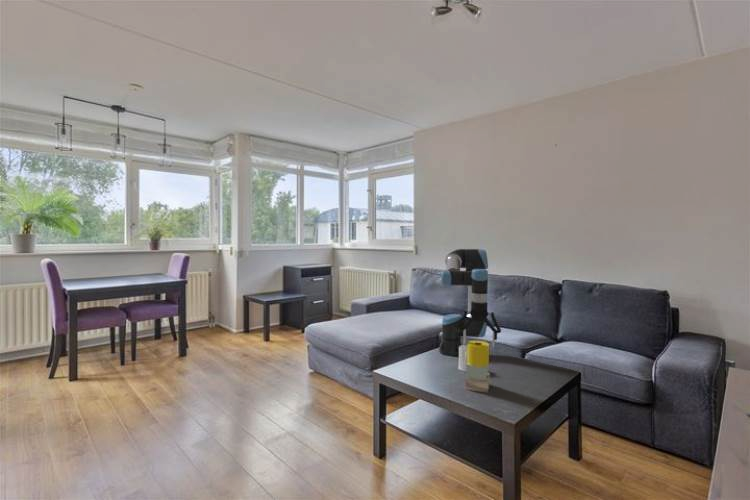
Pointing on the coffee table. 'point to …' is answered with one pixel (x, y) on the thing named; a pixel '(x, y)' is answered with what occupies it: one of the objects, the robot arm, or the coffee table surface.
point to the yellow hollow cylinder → (478, 353)
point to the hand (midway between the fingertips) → (478, 344)
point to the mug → (462, 357)
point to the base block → (478, 384)
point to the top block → (476, 372)
